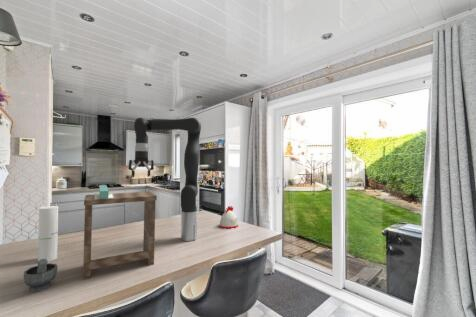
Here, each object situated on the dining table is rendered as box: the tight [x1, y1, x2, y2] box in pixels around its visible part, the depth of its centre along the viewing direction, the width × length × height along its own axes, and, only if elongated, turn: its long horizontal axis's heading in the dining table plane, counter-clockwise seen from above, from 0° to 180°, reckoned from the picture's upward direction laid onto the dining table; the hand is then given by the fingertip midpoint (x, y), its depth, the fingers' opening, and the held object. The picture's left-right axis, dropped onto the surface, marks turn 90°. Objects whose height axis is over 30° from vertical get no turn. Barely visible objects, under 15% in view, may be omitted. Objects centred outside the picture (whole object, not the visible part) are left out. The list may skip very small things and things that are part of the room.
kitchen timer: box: [219, 205, 239, 230], centre depth 171 cm, size 14×14×15 cm
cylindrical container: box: [37, 205, 59, 263], centre depth 110 cm, size 7×7×25 cm
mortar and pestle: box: [23, 259, 58, 293], centre depth 85 cm, size 11×9×12 cm
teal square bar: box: [98, 184, 110, 198], centre depth 106 cm, size 3×26×3 cm, turn 32°
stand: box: [82, 191, 158, 281], centre depth 105 cm, size 28×16×32 cm, turn 122°
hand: (141, 176), depth 141 cm, fingers open, 8 cm apart
